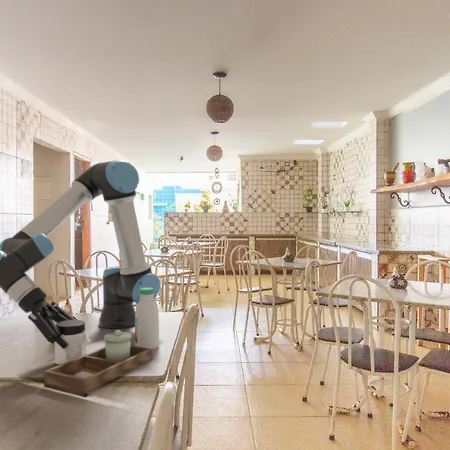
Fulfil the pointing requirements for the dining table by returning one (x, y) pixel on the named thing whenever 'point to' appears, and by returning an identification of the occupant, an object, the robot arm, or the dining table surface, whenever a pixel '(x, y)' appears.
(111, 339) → the sugar pot
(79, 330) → the jar
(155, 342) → the milk bottle
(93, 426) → the dining table surface
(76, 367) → the caddy
